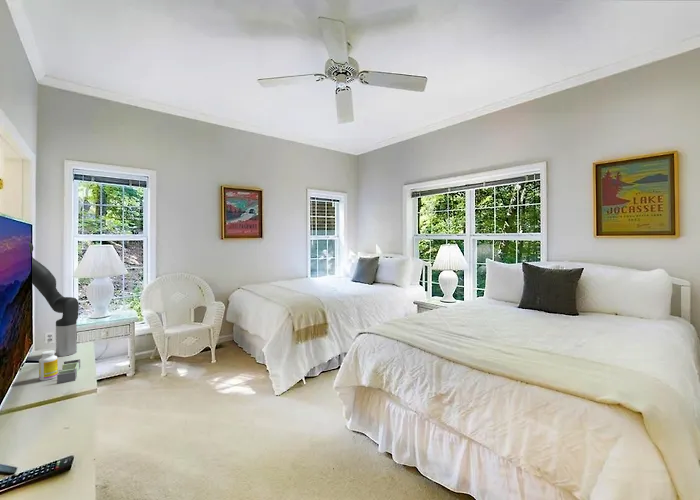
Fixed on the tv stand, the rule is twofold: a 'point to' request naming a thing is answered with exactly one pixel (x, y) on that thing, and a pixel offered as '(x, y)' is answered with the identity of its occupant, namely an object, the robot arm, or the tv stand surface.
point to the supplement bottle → (48, 365)
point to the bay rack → (68, 371)
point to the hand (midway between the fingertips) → (13, 330)
